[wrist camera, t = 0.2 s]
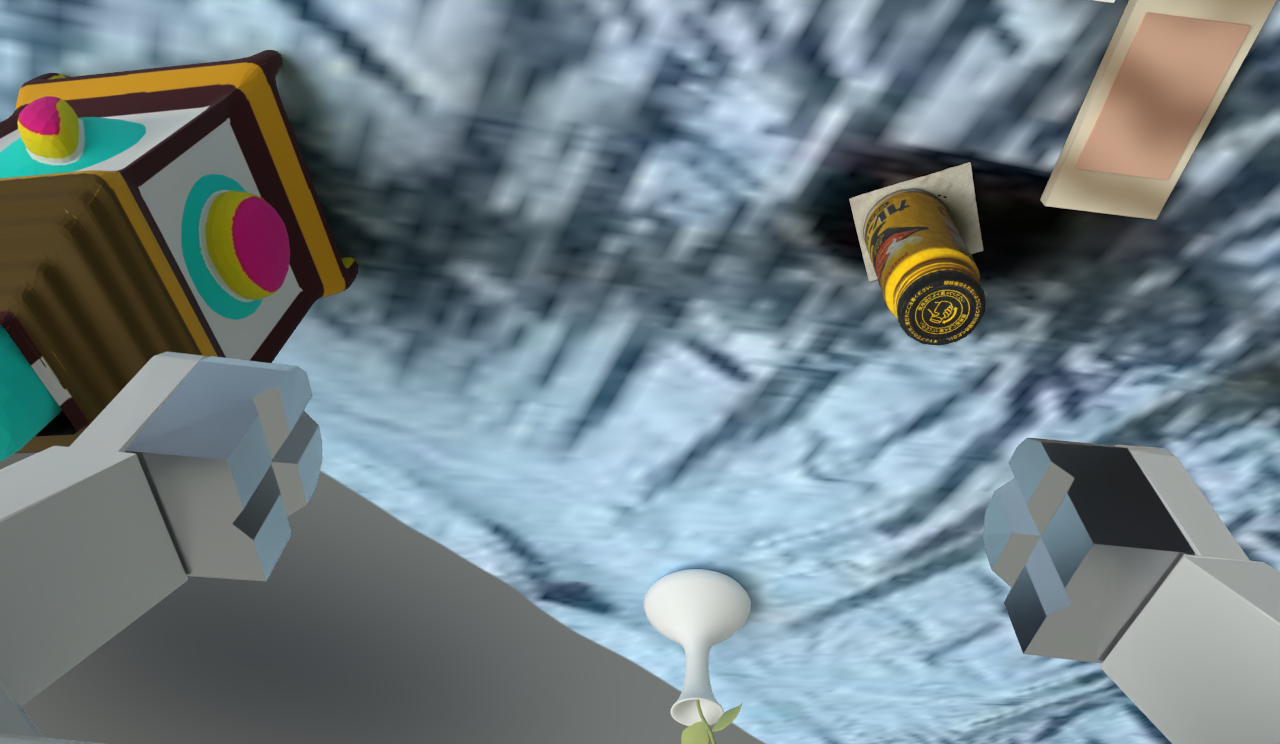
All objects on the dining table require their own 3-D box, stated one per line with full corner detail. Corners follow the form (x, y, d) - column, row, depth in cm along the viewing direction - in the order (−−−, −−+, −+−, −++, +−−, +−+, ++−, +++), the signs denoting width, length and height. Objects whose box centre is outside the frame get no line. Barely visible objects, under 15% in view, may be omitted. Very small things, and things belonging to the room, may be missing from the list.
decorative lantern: (156, 297, 67) (-142, 594, 43) (20, 52, 55) (-496, 275, 31) (385, 281, 65) (205, 585, 41) (295, 22, 53) (-34, 238, 29)
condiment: (848, 197, 58) (878, 283, 49) (970, 160, 56) (1025, 243, 46) (868, 280, 62) (899, 374, 53) (982, 248, 60) (1036, 340, 50)
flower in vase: (692, 637, 91) (691, 879, 72) (622, 588, 87) (601, 833, 67) (784, 591, 86) (810, 841, 66) (714, 536, 81) (720, 788, 61)
